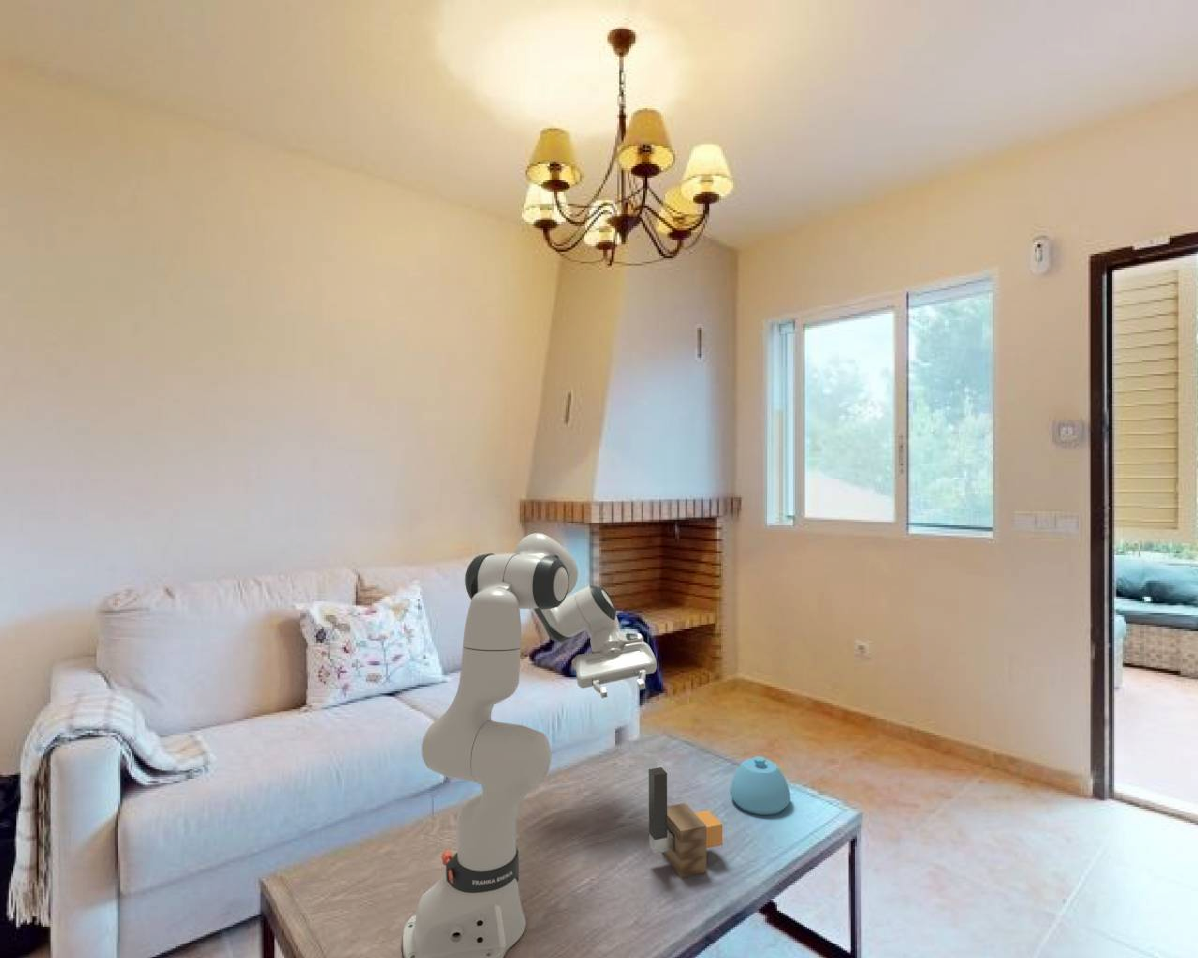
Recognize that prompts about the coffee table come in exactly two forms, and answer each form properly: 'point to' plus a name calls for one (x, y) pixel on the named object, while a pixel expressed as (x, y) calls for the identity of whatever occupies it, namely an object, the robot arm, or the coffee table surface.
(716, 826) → the block
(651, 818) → the grey l-shaped piece
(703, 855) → the bearing block
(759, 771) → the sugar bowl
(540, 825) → the coffee table surface
